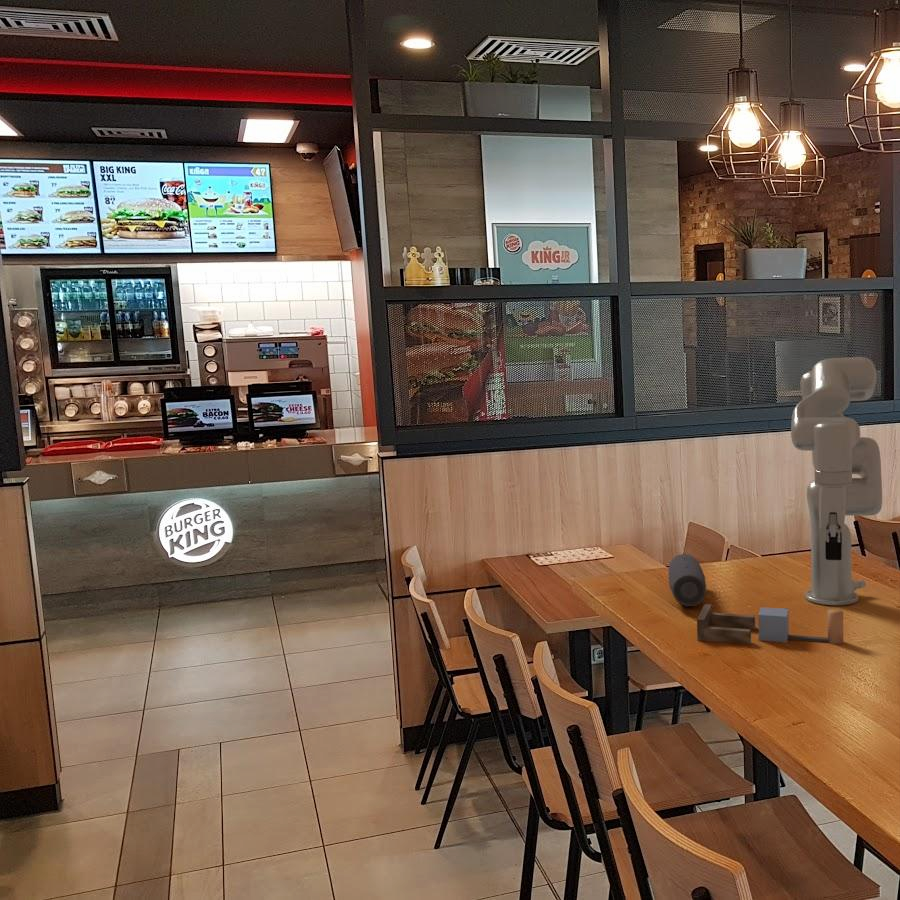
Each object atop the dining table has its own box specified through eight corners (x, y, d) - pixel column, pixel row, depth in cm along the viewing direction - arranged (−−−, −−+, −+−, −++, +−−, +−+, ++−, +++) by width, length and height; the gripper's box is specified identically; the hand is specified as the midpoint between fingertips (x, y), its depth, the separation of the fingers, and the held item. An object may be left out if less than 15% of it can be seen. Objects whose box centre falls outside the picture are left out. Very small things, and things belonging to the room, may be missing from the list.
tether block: (843, 638, 200) (843, 608, 200) (843, 646, 195) (842, 616, 194) (761, 632, 208) (760, 603, 207) (758, 640, 202) (758, 610, 201)
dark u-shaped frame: (755, 627, 211) (755, 607, 210) (750, 644, 200) (749, 623, 199) (705, 624, 216) (704, 604, 215) (697, 640, 205) (696, 619, 204)
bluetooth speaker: (709, 611, 226) (708, 572, 224) (671, 611, 227) (670, 573, 226) (702, 586, 248) (701, 551, 247) (667, 586, 250) (666, 552, 248)
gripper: (815, 471, 203) (816, 544, 205) (813, 484, 188) (814, 563, 190) (851, 471, 200) (852, 545, 202) (852, 484, 185) (852, 565, 187)
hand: (833, 554), depth 196 cm, fingers open, 9 cm apart
